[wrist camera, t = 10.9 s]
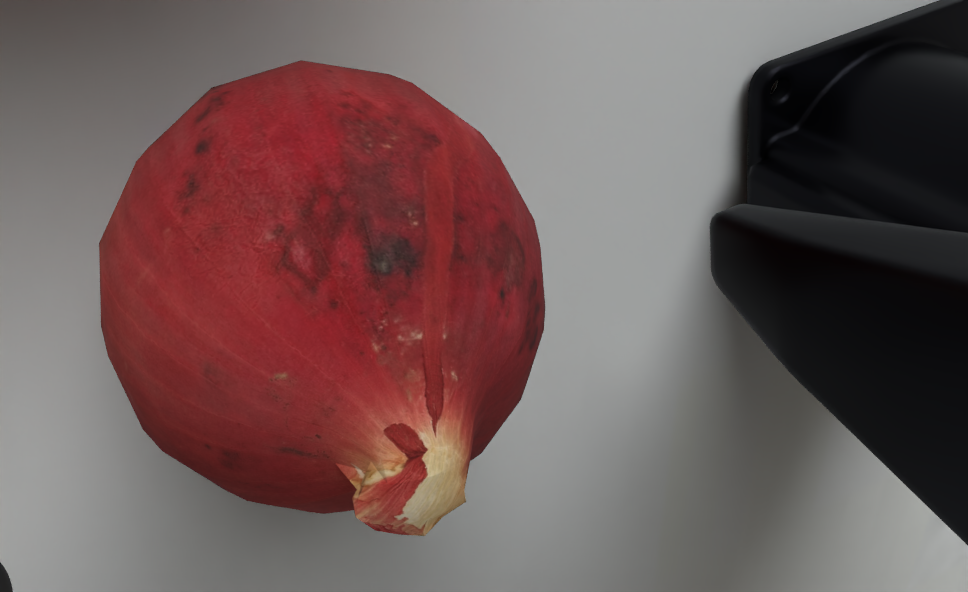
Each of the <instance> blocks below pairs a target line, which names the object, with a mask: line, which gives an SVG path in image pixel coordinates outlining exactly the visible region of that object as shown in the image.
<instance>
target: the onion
mask: <svg viewBox="0 0 968 592" xmlns="http://www.w3.org/2000/svg"><path fill="white" fill-rule="evenodd" d="M99 250H100V295H101V327H102V332H103V336H104V340H105V345H106V349H107V353H108V357H109V359H110V361H111V363H112V365H113V367H114V369H115V371H116V374H117V376H118V378H119V380H120V382H121V384H122V386H123V388H124V390H125V393H126V395H127V397H128V399H129V401H130V403H131V405H132V407H133V409H134V411H135V414H136V416H137V418H138V420H139V422H140V424H141V426H142V428H143V430H144V431H145V432H146V433H147V434H148V435H149V437H150V438H151V439H152V440H153V441H154V442H155V443H156V445H157V446H158V447H159V448H160V449H161V450H162V451H163V452H165V453H166V454H168V455H169V456H171V457H173V458H174V459H176V460H178V461H179V462H181V463H182V464H184V465H186V466H187V467H189V468H190V469H192V470H194V471H195V472H197V473H199V474H200V475H202V476H203V477H205V478H207V479H208V480H210V481H212V482H213V483H215V484H216V485H218V486H220V487H221V488H223V489H225V490H226V491H228V492H230V493H232V494H234V495H236V496H238V497H240V498H242V499H245V500H247V501H251V502H256V503H261V504H266V505H272V506H278V507H285V508H291V509H296V510H302V511H307V512H314V513H322V514H325V513H334V512H342V511H351V510H355V516H356V518H357V519H359V520H360V521H362V522H363V523H365V524H367V525H368V526H370V527H371V528H373V529H374V530H376V531H382V532H388V533H394V534H401V535H419V536H425V535H426V534H427V533H428V532H429V531H430V530H431V529H432V528H433V527H434V525H435V524H436V523H437V522H438V521H439V520H440V519H441V518H442V517H443V516H445V515H446V514H448V513H449V512H451V511H452V510H454V509H455V508H457V507H458V506H460V505H462V504H463V503H465V502H466V499H465V493H464V489H465V483H466V478H467V473H468V468H469V463H470V461H471V460H472V459H474V458H475V457H477V456H478V455H479V454H481V453H482V452H483V450H484V449H485V447H486V446H487V445H488V443H489V442H490V441H491V439H492V438H493V437H494V435H495V434H496V433H497V431H498V430H499V428H500V427H501V426H502V424H503V423H504V422H505V420H506V419H507V418H508V416H509V415H510V414H511V412H512V411H513V409H514V408H515V407H516V405H517V404H518V403H519V401H520V400H521V397H522V395H523V392H524V389H525V386H526V383H527V380H528V377H529V374H530V371H531V368H532V365H533V361H534V358H535V355H536V352H537V349H538V346H539V343H540V340H541V337H542V333H543V330H544V318H545V299H544V287H543V274H542V262H541V249H540V243H539V239H538V235H537V230H536V226H535V221H534V219H533V217H532V215H531V213H530V212H529V210H528V208H527V206H526V204H525V202H524V201H523V199H522V197H521V195H520V193H519V191H518V190H517V188H516V186H515V184H514V182H513V181H512V179H511V177H510V175H509V173H508V171H507V170H506V168H505V166H504V164H503V162H502V160H501V159H500V157H499V156H498V154H497V153H496V152H495V151H494V149H493V148H492V147H491V145H490V144H489V143H488V142H487V140H486V139H485V138H484V136H483V135H482V134H481V133H480V132H479V131H477V130H476V129H475V128H473V127H472V126H470V125H469V124H468V123H466V122H465V121H464V120H462V119H461V118H459V117H458V116H457V115H455V114H454V113H453V112H451V111H450V110H449V109H447V108H446V107H444V106H443V105H442V104H440V103H439V102H438V101H436V100H435V99H433V98H432V97H431V96H429V95H428V94H427V93H425V92H424V91H423V90H421V89H420V88H418V87H417V86H416V85H414V84H413V83H411V82H408V81H405V80H403V79H400V78H397V77H395V76H392V75H389V74H383V73H377V72H370V71H364V70H358V69H351V68H345V67H339V66H332V65H326V64H320V63H313V62H307V61H298V62H295V63H291V64H288V65H285V66H282V67H278V68H275V69H272V70H269V71H265V72H262V73H259V74H255V75H252V76H249V77H246V78H242V79H239V80H236V81H232V82H229V83H226V84H223V85H219V86H216V87H213V88H211V89H210V90H209V91H208V92H207V93H206V94H205V95H203V96H202V97H201V98H200V99H199V100H198V101H197V102H196V103H195V104H194V105H193V106H192V107H191V108H190V109H189V110H188V111H187V112H186V113H184V114H183V115H182V116H181V117H180V118H179V119H178V120H177V121H176V122H175V123H174V124H173V125H172V126H171V127H170V128H169V129H168V130H167V131H165V132H164V133H163V134H162V135H161V136H160V137H159V138H158V139H157V140H156V141H155V142H154V143H153V144H152V145H151V146H150V147H149V148H148V149H147V150H146V151H145V152H144V153H143V154H142V156H141V157H140V158H139V159H138V160H137V161H136V163H135V166H134V168H133V170H132V172H131V174H130V177H129V179H128V181H127V183H126V185H125V188H124V190H123V192H122V194H121V196H120V199H119V201H118V203H117V205H116V207H115V210H114V212H113V214H112V216H111V219H110V221H109V223H108V225H107V227H106V230H105V232H104V234H103V236H102V238H101V241H100V243H99Z"/></svg>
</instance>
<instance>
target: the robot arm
mask: <svg viewBox="0 0 968 592" xmlns="http://www.w3.org/2000/svg"><path fill="white" fill-rule="evenodd" d="M777 80H778V83H777V87H776V89H775V90H774V91H773V93H772V94H771V89H772V86H773V85H774V83H775V82H776V81H777ZM710 251H711V272H712V276H713V278H714V281H715V283H716V284H717V286H718V287H719V289H720V290H721V291H722V293H723V294H724V295H725V296H726V297H727V299H728V300H729V301H730V302H731V303H732V305H733V306H734V307H735V308H736V309H737V311H738V312H739V313H740V314H741V315H742V317H743V318H744V319H745V320H746V322H747V323H748V324H749V325H750V326H751V328H752V329H753V330H754V331H755V332H756V334H757V335H758V336H759V337H760V338H761V340H762V341H763V342H764V343H765V344H766V346H767V347H768V348H769V349H770V351H771V352H772V353H773V354H774V355H775V356H776V358H777V359H778V360H779V361H780V362H781V363H782V364H783V365H784V367H785V368H786V369H787V370H788V371H789V372H790V373H791V374H792V375H793V376H794V377H795V378H796V379H797V380H798V381H799V382H800V383H801V384H802V385H803V386H804V387H805V388H806V389H807V390H808V391H809V392H810V393H811V394H812V395H813V396H814V397H815V398H816V399H817V400H818V401H819V402H821V403H822V404H823V405H824V406H825V407H826V408H827V409H828V410H829V411H830V412H831V413H832V414H833V415H834V416H835V417H836V418H837V419H838V420H839V421H840V422H841V423H842V424H843V425H844V426H845V427H846V428H847V429H848V430H849V431H850V432H851V433H852V434H854V435H855V436H856V437H857V438H858V439H859V440H860V441H861V442H862V443H863V444H864V445H865V446H866V447H867V448H868V449H869V450H870V451H871V452H872V453H873V454H874V455H875V456H876V457H877V458H878V459H879V460H880V461H881V462H882V463H883V464H884V465H885V466H886V467H888V468H889V469H890V470H891V471H892V472H893V473H894V474H895V475H896V476H897V477H898V478H899V479H900V480H901V481H902V482H903V483H904V484H905V485H906V486H907V487H908V488H909V489H910V490H911V491H912V492H913V493H914V494H915V495H916V496H917V497H918V498H919V499H921V500H922V501H923V502H924V503H925V504H926V505H927V506H928V507H929V508H930V509H931V510H932V511H933V512H934V513H935V514H936V515H937V516H938V517H939V518H940V519H941V520H942V521H943V522H944V523H945V524H946V525H947V526H948V527H949V528H950V529H951V530H952V531H953V532H955V533H956V534H957V535H958V536H959V537H960V538H961V539H962V540H963V541H964V542H965V543H966V544H967V545H968V0H939V1H936V2H934V3H931V4H928V5H925V6H922V7H920V8H917V9H914V10H911V11H908V12H906V13H903V14H900V15H897V16H894V17H892V18H889V19H886V20H883V21H880V22H878V23H875V24H872V25H869V26H866V27H864V28H861V29H858V30H855V31H852V32H850V33H847V34H844V35H841V36H838V37H836V38H833V39H830V40H827V41H824V42H822V43H819V44H816V45H813V46H810V47H808V48H805V49H802V50H799V51H796V52H794V53H791V54H788V55H785V56H782V57H780V58H777V59H774V60H771V61H768V62H767V63H765V64H763V65H762V66H760V67H759V69H758V70H757V71H756V72H755V73H754V75H753V77H752V79H751V81H750V85H749V90H748V178H747V204H739V205H736V206H733V207H731V208H728V209H726V210H723V211H721V212H719V213H716V214H715V215H714V216H713V218H712V220H711V223H710ZM0 592H13V590H12V585H11V581H10V578H9V575H8V573H7V571H6V570H5V568H4V566H3V565H2V564H1V563H0Z"/></svg>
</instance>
